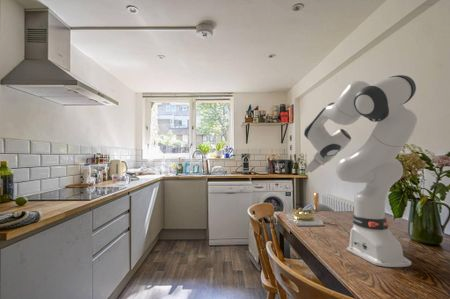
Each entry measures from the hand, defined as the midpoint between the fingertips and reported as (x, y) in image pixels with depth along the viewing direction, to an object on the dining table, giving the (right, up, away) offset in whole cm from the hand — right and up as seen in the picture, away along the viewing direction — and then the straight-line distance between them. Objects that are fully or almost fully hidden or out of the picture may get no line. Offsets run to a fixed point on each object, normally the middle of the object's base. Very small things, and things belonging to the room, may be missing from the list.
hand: (309, 168), depth 138 cm
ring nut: (0, -30, +6) cm, 30 cm away
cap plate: (-1, -32, +6) cm, 33 cm away
